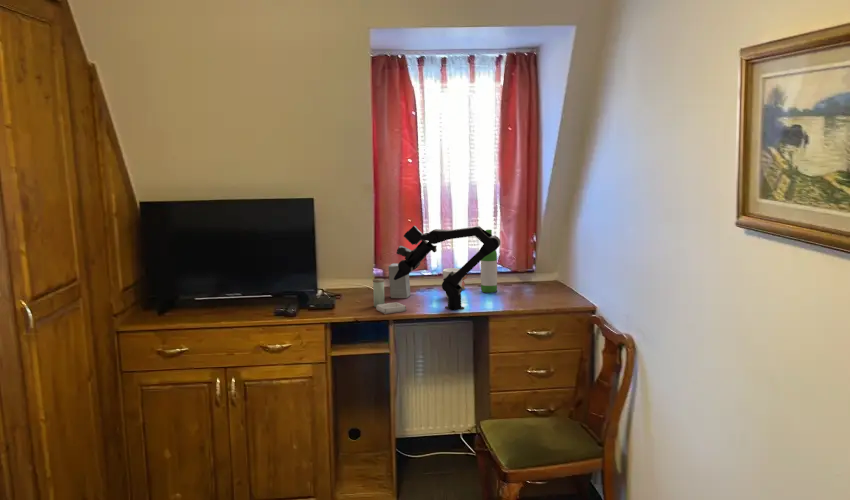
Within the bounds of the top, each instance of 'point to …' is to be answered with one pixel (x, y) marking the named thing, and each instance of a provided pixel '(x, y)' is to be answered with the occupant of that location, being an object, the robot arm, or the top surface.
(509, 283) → the top surface
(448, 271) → the foam cup
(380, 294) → the peg
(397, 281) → the skincare box
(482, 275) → the wine bottle
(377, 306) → the tray
